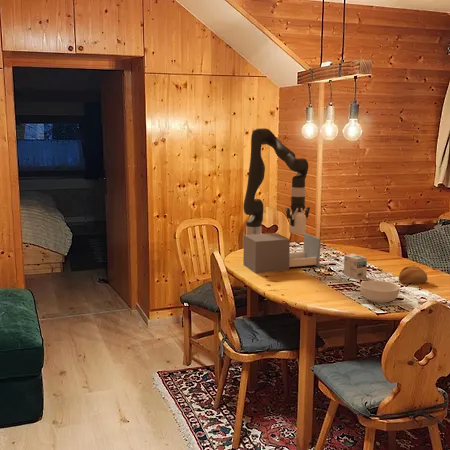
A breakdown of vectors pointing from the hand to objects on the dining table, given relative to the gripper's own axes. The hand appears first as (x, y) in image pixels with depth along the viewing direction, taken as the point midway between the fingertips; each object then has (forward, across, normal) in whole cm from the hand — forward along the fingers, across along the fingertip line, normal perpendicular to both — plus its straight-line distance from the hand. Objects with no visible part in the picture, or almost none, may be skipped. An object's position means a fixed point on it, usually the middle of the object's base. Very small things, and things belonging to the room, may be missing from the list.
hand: (297, 225), depth 301 cm
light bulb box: (+22, -19, +30) cm, 42 cm away
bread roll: (+22, -40, +49) cm, 67 cm away
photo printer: (+5, 0, 0) cm, 5 cm away
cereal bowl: (+22, -8, +68) cm, 72 cm away
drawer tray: (+22, 0, 0) cm, 22 cm away
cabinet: (+22, +18, 0) cm, 29 cm away
